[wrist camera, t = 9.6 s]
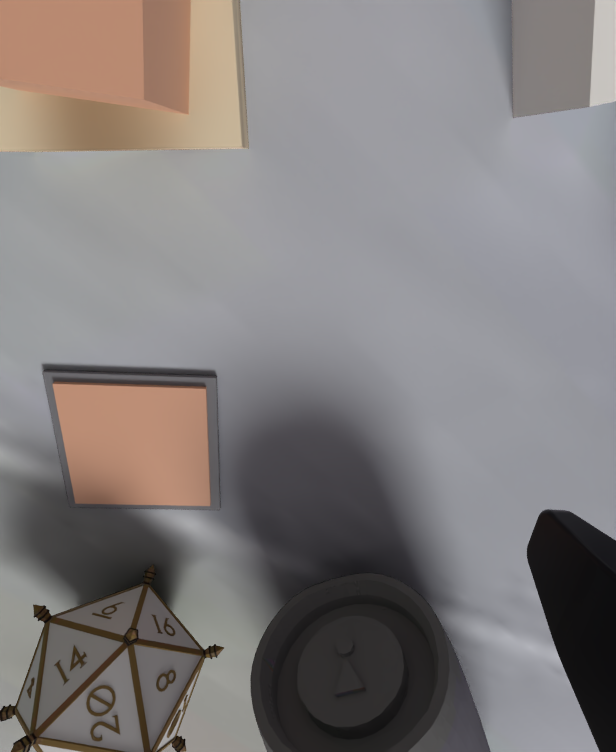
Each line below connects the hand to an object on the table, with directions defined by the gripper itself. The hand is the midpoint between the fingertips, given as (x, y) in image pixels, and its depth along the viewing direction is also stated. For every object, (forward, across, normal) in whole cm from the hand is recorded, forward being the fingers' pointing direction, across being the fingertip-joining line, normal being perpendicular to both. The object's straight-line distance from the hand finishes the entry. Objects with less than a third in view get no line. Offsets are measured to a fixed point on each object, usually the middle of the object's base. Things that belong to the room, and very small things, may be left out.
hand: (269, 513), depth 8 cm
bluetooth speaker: (+12, -8, +23) cm, 27 cm away
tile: (+11, +6, +7) cm, 14 cm away
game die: (+12, +7, +17) cm, 21 cm away
